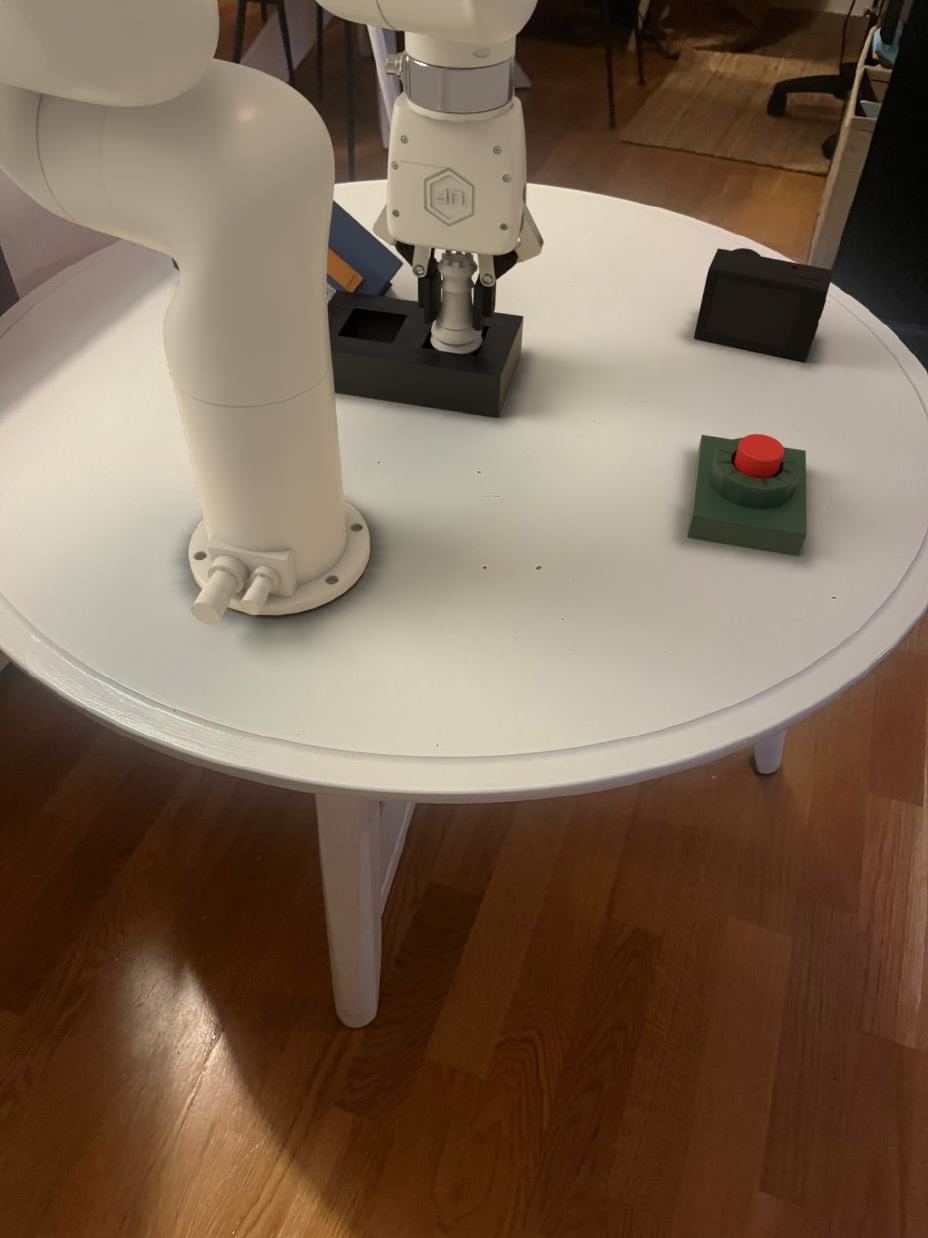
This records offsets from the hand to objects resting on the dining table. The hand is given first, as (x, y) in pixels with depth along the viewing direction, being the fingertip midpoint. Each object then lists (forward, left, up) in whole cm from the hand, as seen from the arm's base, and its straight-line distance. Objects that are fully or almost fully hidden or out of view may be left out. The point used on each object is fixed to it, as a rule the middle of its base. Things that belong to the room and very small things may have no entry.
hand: (456, 316), depth 81 cm
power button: (-11, -25, -2) cm, 28 cm away
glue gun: (+10, +19, -6) cm, 22 cm away
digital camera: (+14, -25, -6) cm, 30 cm away
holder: (0, +4, -6) cm, 7 cm away
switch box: (-11, -25, -6) cm, 28 cm away
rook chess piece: (0, 0, -3) cm, 3 cm away
